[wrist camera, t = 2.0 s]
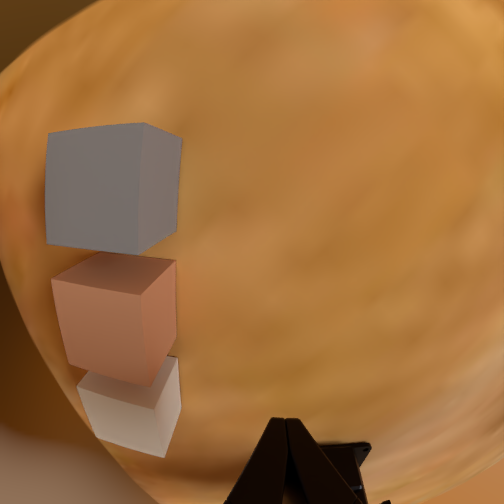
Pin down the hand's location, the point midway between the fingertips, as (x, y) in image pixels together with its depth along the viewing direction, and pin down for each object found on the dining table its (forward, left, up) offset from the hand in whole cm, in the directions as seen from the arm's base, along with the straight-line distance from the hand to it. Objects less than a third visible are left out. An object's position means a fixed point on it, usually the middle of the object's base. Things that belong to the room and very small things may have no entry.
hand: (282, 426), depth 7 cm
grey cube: (+6, +8, -8) cm, 12 cm away
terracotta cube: (0, +8, -8) cm, 11 cm away
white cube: (-6, +8, -8) cm, 12 cm away
